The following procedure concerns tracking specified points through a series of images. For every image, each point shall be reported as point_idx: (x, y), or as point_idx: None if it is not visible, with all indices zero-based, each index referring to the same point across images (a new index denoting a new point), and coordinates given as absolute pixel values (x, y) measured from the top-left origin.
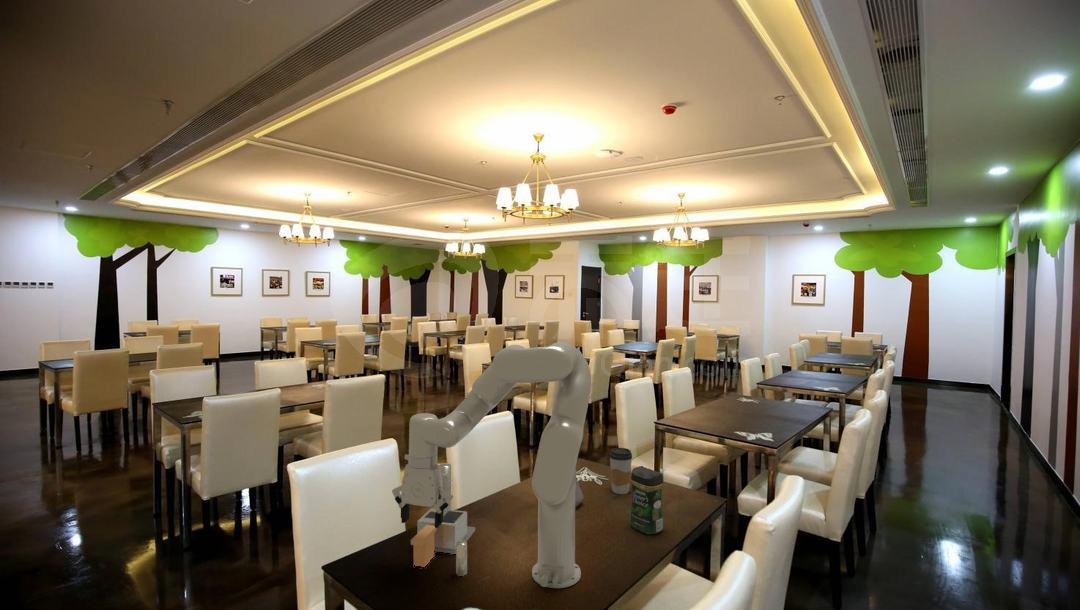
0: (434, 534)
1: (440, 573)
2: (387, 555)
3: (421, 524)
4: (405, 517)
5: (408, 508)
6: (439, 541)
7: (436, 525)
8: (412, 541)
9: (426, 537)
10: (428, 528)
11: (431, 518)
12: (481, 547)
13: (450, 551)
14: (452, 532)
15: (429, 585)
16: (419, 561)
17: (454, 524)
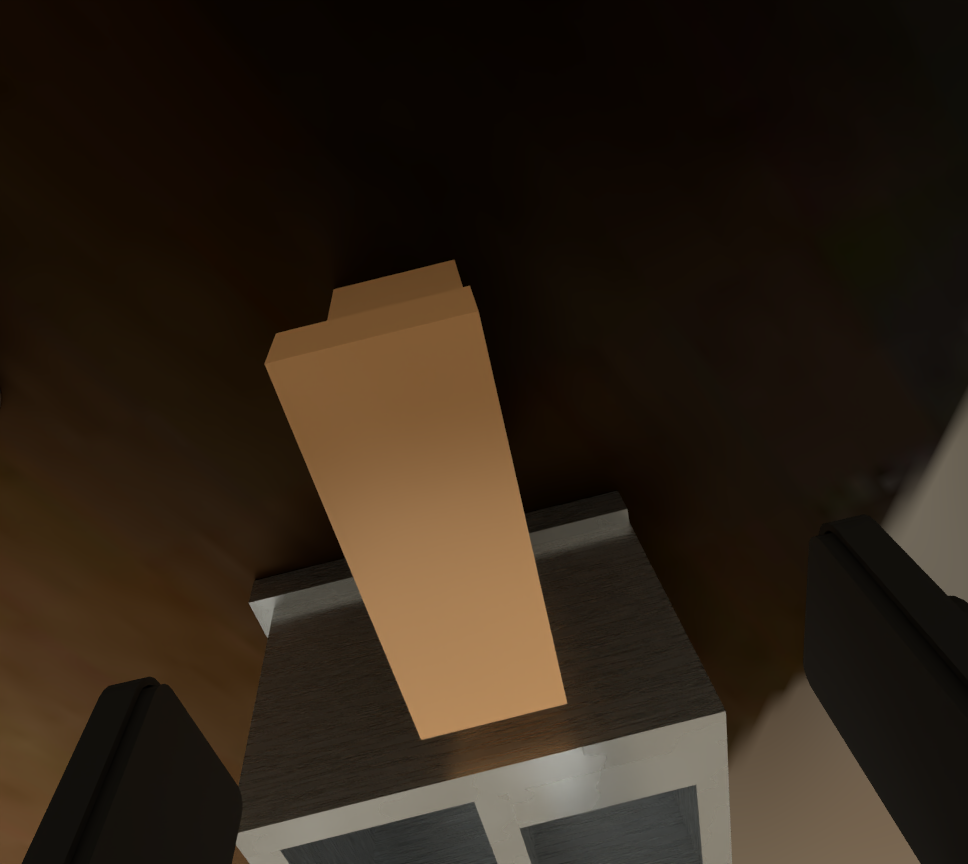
0: None
1: (124, 295)
2: (819, 308)
3: (657, 694)
4: (857, 637)
5: (937, 856)
6: None
7: (97, 723)
8: (443, 311)
9: (322, 498)
10: (475, 664)
11: (666, 804)
12: None
13: (303, 583)
14: (273, 744)
15: (13, 33)
16: (389, 297)
17: (253, 842)
